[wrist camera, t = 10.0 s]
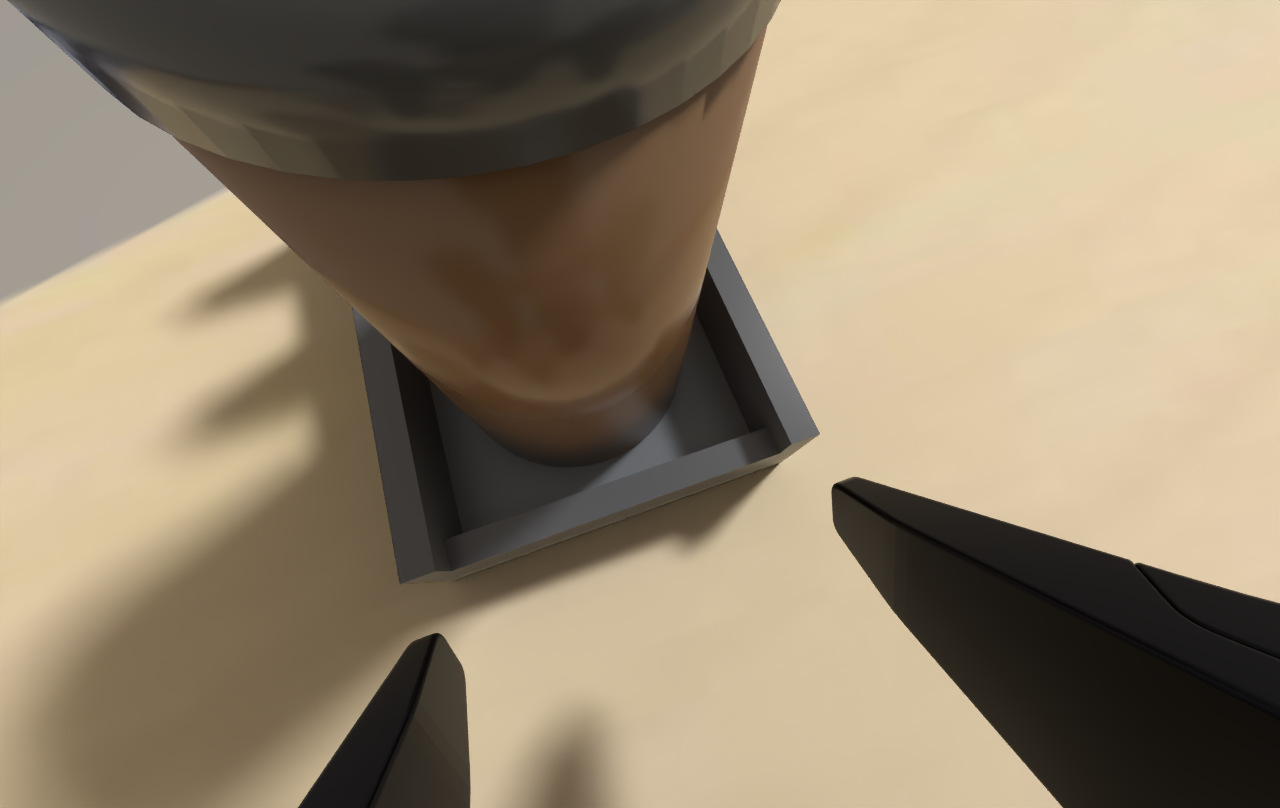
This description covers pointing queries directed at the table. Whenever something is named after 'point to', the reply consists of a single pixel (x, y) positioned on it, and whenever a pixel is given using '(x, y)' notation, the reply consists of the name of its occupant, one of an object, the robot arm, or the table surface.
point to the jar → (468, 175)
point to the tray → (588, 495)
